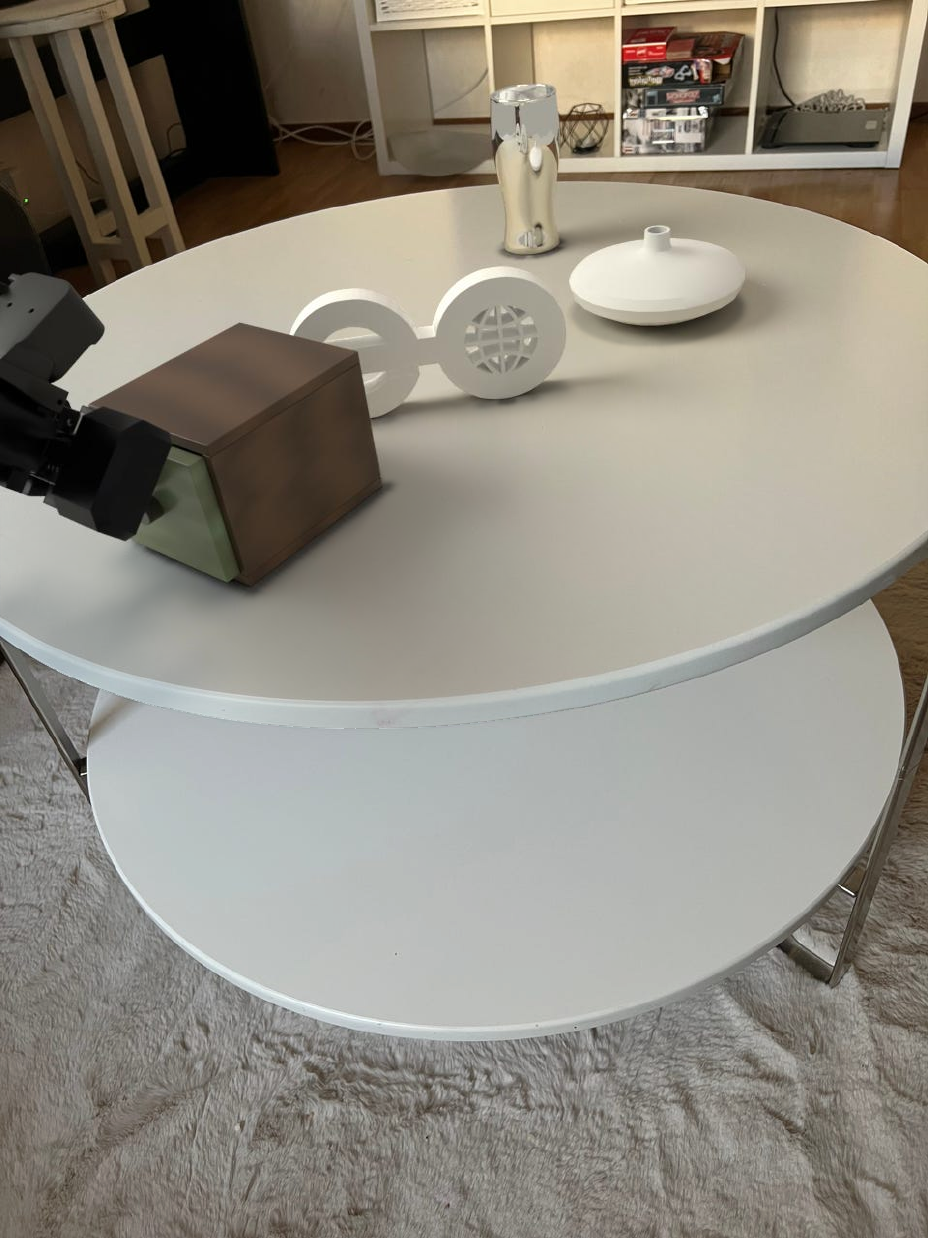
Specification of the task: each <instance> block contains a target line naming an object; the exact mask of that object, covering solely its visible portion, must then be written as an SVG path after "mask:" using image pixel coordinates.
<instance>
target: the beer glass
mask: <svg viewBox="0 0 928 1238" xmlns="http://www.w3.org/2000/svg"><path fill="white" fill-rule="evenodd" d="M489 98H490V142H491V150H492V151H491V152H492V157H493V158H492V159H493V163H494V168H495V173H496V177H497V182H498V185H499V190H500V193H501V198H502V202H503V208H504V217H505V225H504V235H503V248H504V250H505V251H507V252H508V253H511V254H515V255H524V256H525V255H527V256H528V255H537V254H538V255H539V254H542V253H546V252H549V251H551V250H553V249H555V248H556V247H558V246H559V244H560V235H559V231H558V226H557V222H556V215H555V213H556V212H555V199H556V190H557V181H558V174H559V164H560V154H561V131H560V117H559V107H558V106H559V105H558V100H557V88H556V87H555V86H553V85H550V84H547V83H546V84H545V83H525V84H517V85H511V86H506V87H503V88H502V87H501V88H499V89H496V90H494V91H492V92H491V94H490V95H489Z"/></svg>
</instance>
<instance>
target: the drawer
mask: <svg viewBox="0 0 928 1238" xmlns="http://www.w3.org/2000/svg"><path fill="white" fill-rule="evenodd" d="M202 455H203V454H200V453H197V452H194V451H191V450H189V449H186V448H183V447H180V446H177V445H175V444H172V447H171V450H170V452H169V455H168V457H167V460H166V462H165V465H164V467H163V469H162V472H161V474H160V477H159V479H158V482H157V484H156V487H155V489H154V492H153V494H152V497H151V499H150V501H149V504H148V506H147V509H146V511H145V514H144V516H143V519H142V521H141V524H140V526H139V529H138V531H137V533H136V535H135V536H133V537H132V538H130V539H129V540H131V541H133V542H136V543H138V544H139V545H143V546H145V547H147V548H149V549H151V550H153V551H155V552H158V553H160V554H163V555H164V556H167V557H169V558H172V559H173V560H176V561H178V562H180V563H182V564H184V565H187V566H189V567H192V568H194V569H196V570H198V571H200V572H203V573H204V574H207V575H209V576H211V577H214V578H216V579H217V580H220V581H223V582H225V583H229V582H231V580H234V579H233V578H234V577H236V576H237V575H238V574H240V571H239V568H238V565H237V561H236V558H235V555H234V552H233V549H232V546H231V542H230V539H229V536H228V533H227V530H226V527H225V524H224V520H223V517H222V514H221V511H220V508H219V505H218V502H217V498H216V495H215V492H214V489H213V486H212V483H211V479H210V476H209V473H208V470H207V467H206V464H205V461H204V458H203V456H202Z"/></svg>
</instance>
